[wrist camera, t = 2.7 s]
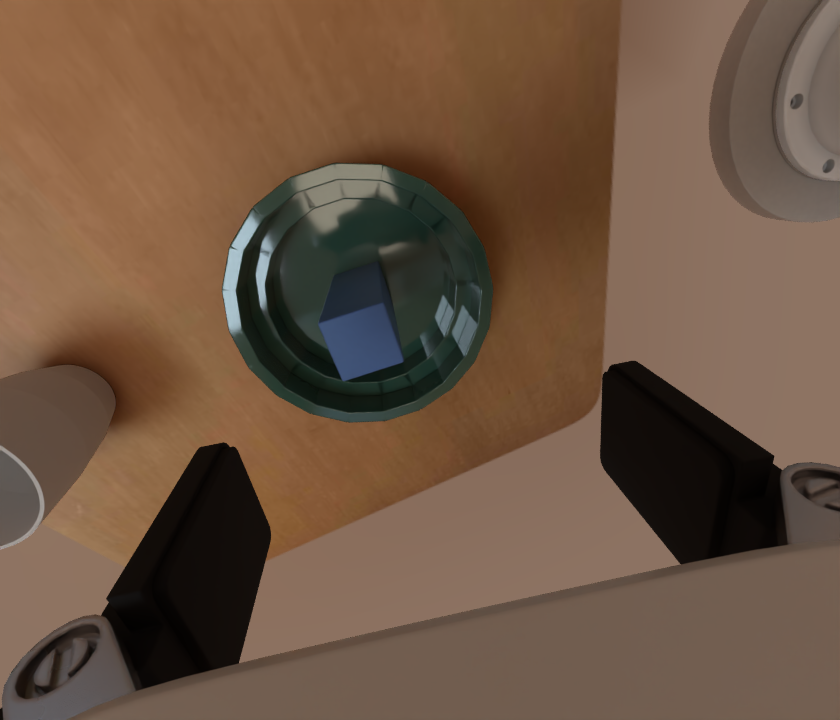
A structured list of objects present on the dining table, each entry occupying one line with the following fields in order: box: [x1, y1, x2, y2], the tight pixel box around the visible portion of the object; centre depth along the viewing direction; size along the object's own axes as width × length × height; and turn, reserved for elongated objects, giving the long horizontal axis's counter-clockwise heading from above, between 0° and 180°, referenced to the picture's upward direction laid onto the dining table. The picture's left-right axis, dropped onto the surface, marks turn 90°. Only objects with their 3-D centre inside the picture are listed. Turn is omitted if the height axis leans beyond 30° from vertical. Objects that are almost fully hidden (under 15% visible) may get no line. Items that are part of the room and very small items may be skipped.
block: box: [318, 261, 404, 381], centre depth 24 cm, size 3×3×10 cm
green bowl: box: [222, 163, 493, 423], centre depth 27 cm, size 16×16×5 cm
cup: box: [0, 365, 116, 549], centre depth 25 cm, size 8×8×10 cm
